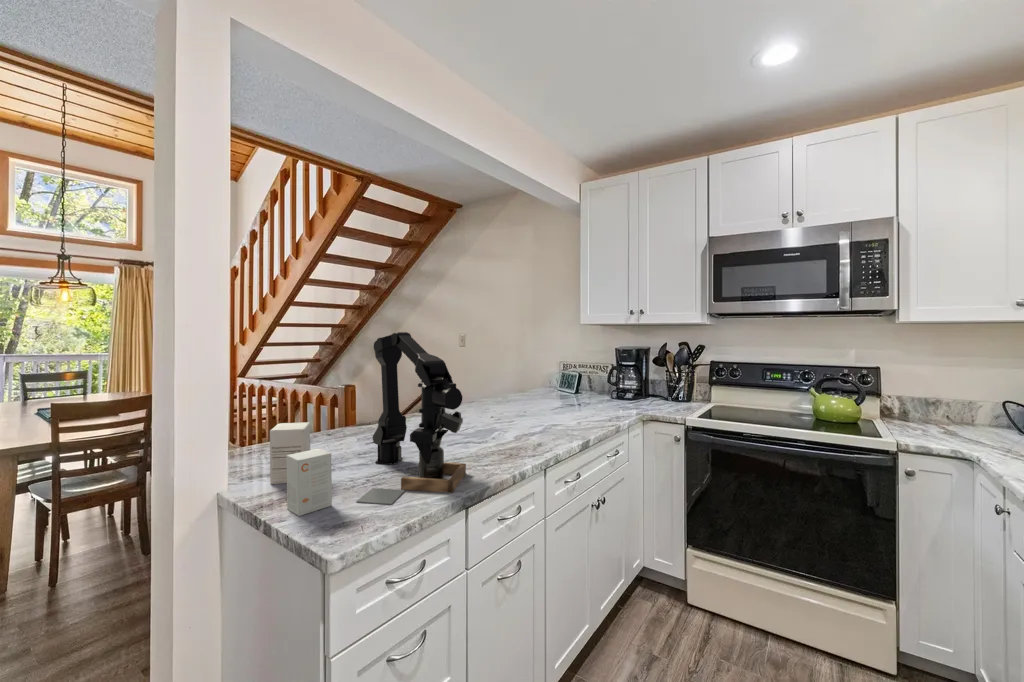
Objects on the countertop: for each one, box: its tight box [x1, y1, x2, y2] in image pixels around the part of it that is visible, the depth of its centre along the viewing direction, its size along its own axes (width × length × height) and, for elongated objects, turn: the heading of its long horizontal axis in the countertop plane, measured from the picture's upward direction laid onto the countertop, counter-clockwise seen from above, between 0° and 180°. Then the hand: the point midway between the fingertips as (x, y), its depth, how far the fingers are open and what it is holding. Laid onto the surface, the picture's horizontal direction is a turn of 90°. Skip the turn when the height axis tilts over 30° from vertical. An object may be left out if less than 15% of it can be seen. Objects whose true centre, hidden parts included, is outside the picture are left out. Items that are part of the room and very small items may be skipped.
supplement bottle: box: [418, 437, 445, 479], centre depth 124 cm, size 7×7×12 cm
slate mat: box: [356, 487, 406, 506], centre depth 112 cm, size 9×9×1 cm
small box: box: [286, 448, 333, 517], centre depth 105 cm, size 8×6×13 cm
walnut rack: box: [400, 461, 467, 494], centre depth 124 cm, size 14×15×3 cm
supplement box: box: [269, 421, 311, 485], centre depth 125 cm, size 9×9×15 cm
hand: (431, 459), depth 124 cm, fingers closed on supplement bottle, 7 cm apart
